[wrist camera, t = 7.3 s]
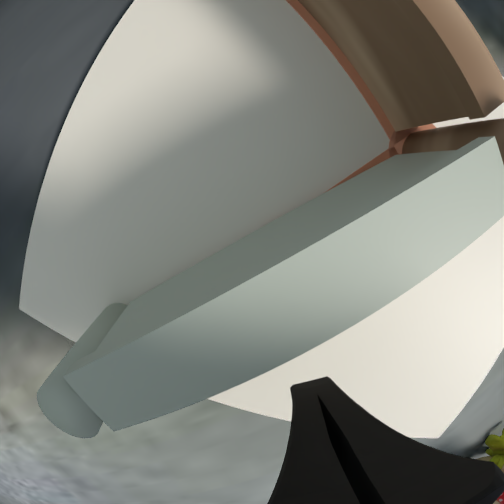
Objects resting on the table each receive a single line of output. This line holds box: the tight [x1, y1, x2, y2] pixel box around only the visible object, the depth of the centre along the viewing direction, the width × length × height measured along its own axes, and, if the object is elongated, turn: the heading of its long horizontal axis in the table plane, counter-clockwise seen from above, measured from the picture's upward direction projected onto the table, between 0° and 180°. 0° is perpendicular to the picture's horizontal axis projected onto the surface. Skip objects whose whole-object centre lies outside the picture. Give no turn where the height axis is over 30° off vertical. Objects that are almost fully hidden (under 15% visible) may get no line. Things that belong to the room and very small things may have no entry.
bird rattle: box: [477, 429, 504, 504], centre depth 13 cm, size 6×11×9 cm
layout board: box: [19, 0, 504, 438], centre depth 11 cm, size 21×26×1 cm
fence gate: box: [37, 136, 504, 438], centre depth 8 cm, size 2×13×5 cm, turn 119°
